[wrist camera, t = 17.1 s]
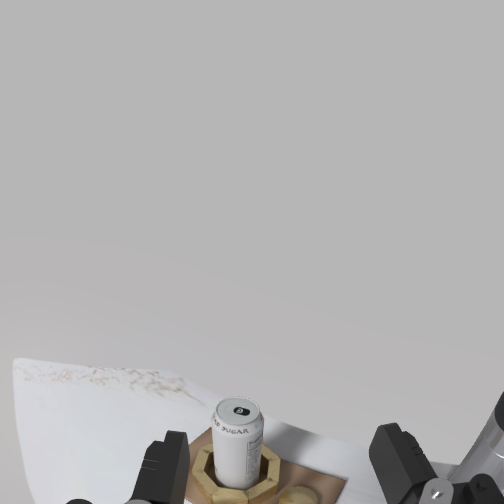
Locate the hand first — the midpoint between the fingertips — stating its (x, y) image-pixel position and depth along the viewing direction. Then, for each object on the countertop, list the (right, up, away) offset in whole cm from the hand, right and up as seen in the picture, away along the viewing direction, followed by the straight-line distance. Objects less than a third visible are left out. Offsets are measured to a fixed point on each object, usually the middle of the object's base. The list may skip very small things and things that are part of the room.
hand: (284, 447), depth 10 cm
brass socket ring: (-1, -24, +22) cm, 33 cm away
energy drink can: (-3, -24, +23) cm, 34 cm away
